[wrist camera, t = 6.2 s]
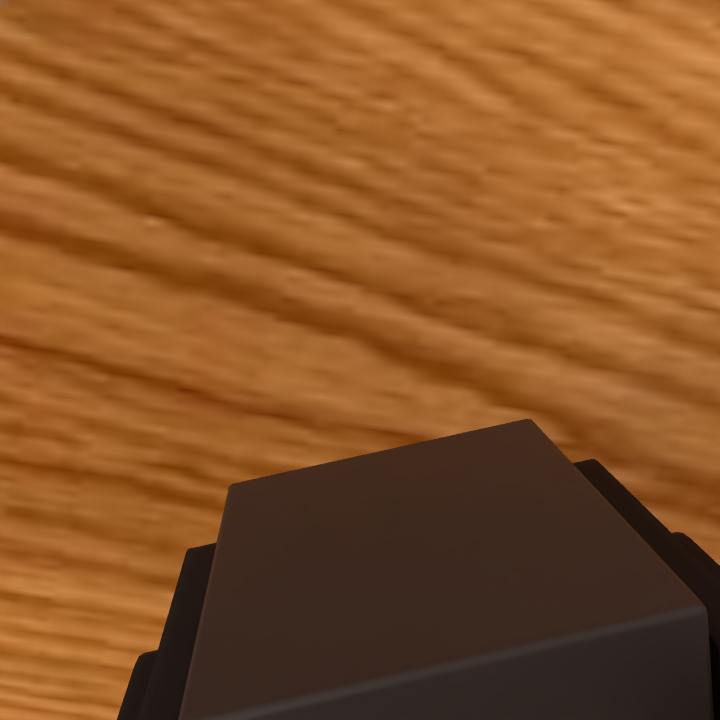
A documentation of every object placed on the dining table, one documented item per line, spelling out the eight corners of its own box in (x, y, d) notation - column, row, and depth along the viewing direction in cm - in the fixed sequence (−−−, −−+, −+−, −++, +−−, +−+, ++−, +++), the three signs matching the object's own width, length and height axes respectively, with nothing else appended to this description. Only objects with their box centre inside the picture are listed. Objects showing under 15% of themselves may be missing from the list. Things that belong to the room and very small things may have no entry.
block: (296, 728, 11) (295, 1089, 7) (227, 482, 10) (171, 730, 5) (565, 666, 11) (733, 980, 7) (530, 415, 10) (712, 606, 5)
